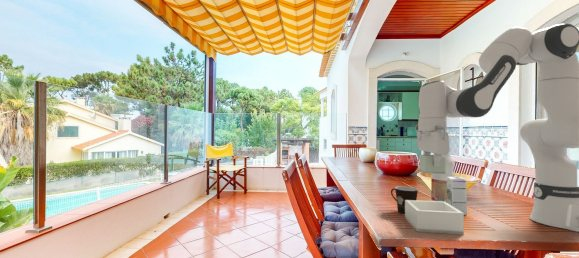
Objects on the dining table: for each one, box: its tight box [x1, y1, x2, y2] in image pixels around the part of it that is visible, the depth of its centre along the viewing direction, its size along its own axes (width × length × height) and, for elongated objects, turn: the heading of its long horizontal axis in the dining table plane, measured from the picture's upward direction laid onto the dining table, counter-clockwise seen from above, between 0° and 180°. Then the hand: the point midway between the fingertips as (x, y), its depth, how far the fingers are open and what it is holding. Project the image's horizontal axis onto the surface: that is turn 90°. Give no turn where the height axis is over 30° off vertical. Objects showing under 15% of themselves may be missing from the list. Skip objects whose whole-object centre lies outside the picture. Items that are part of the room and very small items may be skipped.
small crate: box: [418, 154, 445, 175], centre depth 96 cm, size 6×6×6 cm
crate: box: [404, 199, 465, 235], centre depth 96 cm, size 14×14×7 cm
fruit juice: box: [430, 152, 456, 203], centre depth 122 cm, size 9×9×28 cm
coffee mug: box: [390, 185, 419, 216], centre depth 112 cm, size 12×9×10 cm
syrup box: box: [447, 176, 468, 216], centre depth 111 cm, size 6×6×14 cm
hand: (432, 165), depth 96 cm, fingers closed on small crate, 6 cm apart
